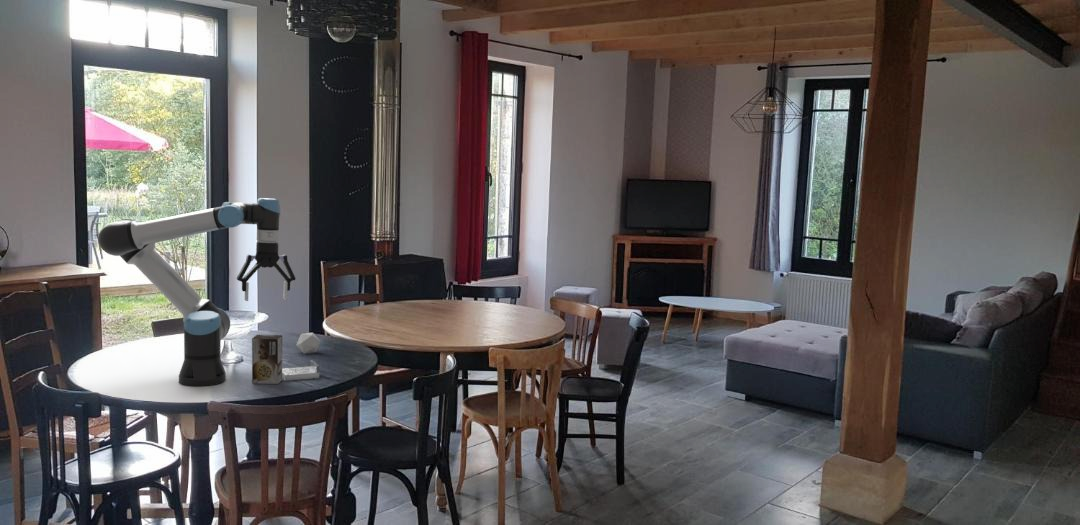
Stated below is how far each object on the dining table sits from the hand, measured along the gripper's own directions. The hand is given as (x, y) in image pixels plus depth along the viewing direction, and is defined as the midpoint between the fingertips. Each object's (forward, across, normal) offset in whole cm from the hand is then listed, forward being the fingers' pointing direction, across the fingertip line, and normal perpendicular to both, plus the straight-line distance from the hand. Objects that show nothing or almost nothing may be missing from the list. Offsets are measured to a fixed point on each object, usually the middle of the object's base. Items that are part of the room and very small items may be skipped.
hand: (265, 300), depth 305 cm
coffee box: (+27, -2, -14) cm, 30 cm away
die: (+26, +23, +25) cm, 43 cm away
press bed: (+26, +10, -11) cm, 30 cm away
